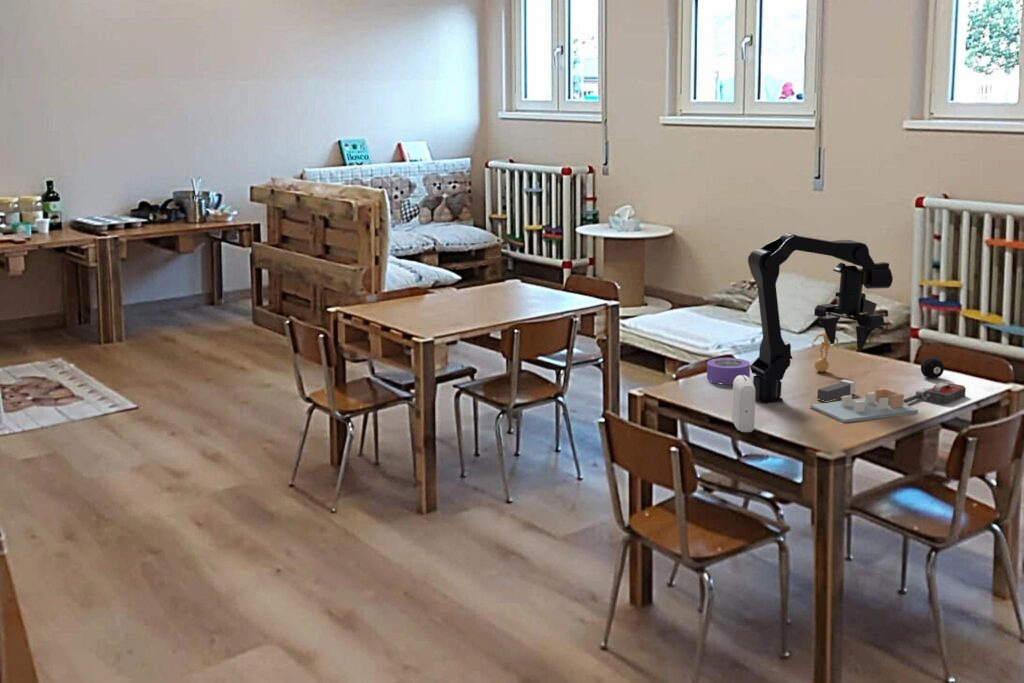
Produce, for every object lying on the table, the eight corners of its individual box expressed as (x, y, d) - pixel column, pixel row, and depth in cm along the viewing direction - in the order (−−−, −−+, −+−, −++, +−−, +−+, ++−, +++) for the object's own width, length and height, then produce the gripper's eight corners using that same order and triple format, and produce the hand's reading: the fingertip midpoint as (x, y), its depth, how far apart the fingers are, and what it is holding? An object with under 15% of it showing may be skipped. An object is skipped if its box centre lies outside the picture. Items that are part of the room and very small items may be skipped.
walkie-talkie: (936, 390, 304) (900, 405, 291) (938, 374, 303) (901, 389, 290) (968, 396, 298) (932, 412, 285) (970, 380, 297) (934, 395, 284)
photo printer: (755, 432, 269) (757, 382, 266) (737, 432, 269) (739, 382, 266) (747, 419, 279) (749, 371, 276) (730, 420, 279) (731, 371, 276)
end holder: (892, 408, 285) (892, 395, 284) (874, 401, 291) (875, 389, 290) (902, 406, 286) (903, 394, 285) (885, 399, 292) (886, 387, 291)
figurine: (804, 370, 325) (806, 329, 322) (815, 366, 329) (817, 326, 327) (831, 375, 319) (833, 334, 317) (841, 371, 324) (843, 330, 321)
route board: (843, 422, 276) (844, 409, 275) (810, 407, 289) (810, 394, 288) (917, 412, 283) (918, 399, 282) (881, 398, 296) (882, 386, 295)
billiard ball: (926, 381, 312) (927, 360, 311) (916, 375, 318) (917, 355, 317) (946, 380, 313) (948, 359, 312) (936, 375, 319) (938, 354, 317)
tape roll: (706, 384, 312) (706, 367, 311) (706, 374, 324) (707, 357, 323) (750, 386, 310) (750, 368, 309) (749, 375, 322) (749, 358, 320)
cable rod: (827, 402, 293) (828, 390, 292) (816, 400, 296) (817, 387, 295) (854, 394, 301) (855, 381, 300) (843, 391, 303) (844, 379, 302)
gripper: (900, 292, 292) (895, 351, 296) (843, 281, 307) (838, 337, 311) (871, 295, 286) (866, 355, 290) (815, 284, 301) (810, 342, 305)
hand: (845, 347), depth 299 cm, fingers open, 9 cm apart
